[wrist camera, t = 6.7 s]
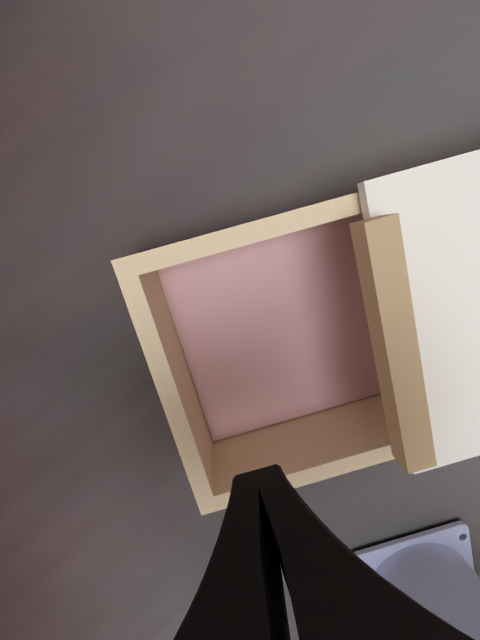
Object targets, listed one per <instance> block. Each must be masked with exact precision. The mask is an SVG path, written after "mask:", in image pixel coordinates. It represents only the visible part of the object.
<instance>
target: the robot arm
mask: <svg viewBox="0 0 480 640" xmlns="http://www.w3.org/2000/svg"><path fill="white" fill-rule="evenodd" d="M280 565H281V566H280ZM281 568H282V571H283V575H284V578H285V581H286V584H287V587H288V590H289V594H290V597H291V601H292V606H293V611H294V616H295V620H296V625H297V630H298V635H299V640H480V578H479V577H478V575H477V574H476V573H475V572H474V564H473V557H472V549H471V542H470V534H469V528H468V526H467V525H466V524H465V523H464V522H463V521H456V522H452V523H449V524H446V525H442V526H439V527H436V528H432V529H429V530H425V531H422V532H419V533H415V534H412V535H409V536H405V537H402V538H399V539H395V540H392V541H388V542H385V543H382V544H378V545H375V546H372V547H368V548H365V549H362V550H358V551H355V552H352V551H351V550H350V549H349V548H348V547H347V546H346V545H345V544H344V543H343V542H342V541H341V540H340V539H338V538H337V537H336V536H335V535H334V534H333V533H332V532H331V531H330V529H329V528H328V527H327V526H326V525H325V524H324V523H323V522H322V521H321V520H320V519H319V518H318V517H317V516H316V515H315V513H314V512H313V511H312V510H311V509H310V508H309V506H308V505H307V504H306V503H305V502H304V501H303V499H302V498H301V497H300V496H299V494H298V493H297V492H296V490H295V489H294V488H293V486H292V485H291V483H290V482H289V480H288V479H287V477H286V476H285V474H284V472H283V470H282V468H281V466H279V465H277V464H274V465H271V466H267V467H263V468H260V469H256V470H253V471H249V472H245V473H242V474H238V475H235V477H234V478H233V480H232V487H231V492H230V497H229V501H228V505H227V509H226V513H225V516H224V520H223V523H222V526H221V530H220V533H219V536H218V539H217V542H216V545H215V548H214V550H213V553H212V556H211V559H210V561H209V564H208V567H207V569H206V572H205V574H204V577H203V579H202V581H201V584H200V586H199V588H198V591H197V593H196V595H195V597H194V599H193V602H192V604H191V606H190V608H189V610H188V612H187V614H186V616H185V618H184V620H183V622H182V624H181V626H180V628H179V630H178V632H177V634H176V635H175V637H174V639H173V640H290V633H289V625H288V618H287V610H286V603H285V595H284V588H283V581H282V573H281Z"/></svg>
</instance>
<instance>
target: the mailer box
mask: <svg viewBox="0 0 480 640" xmlns="http://www.w3.org/2000/svg"><path fill="white" fill-rule="evenodd" d="M361 220H364V219H363V214H362V208H361V202H360V197H359V192H357V193H353V194H349V195H346V196H342V197H338V198H335V199H331V200H328V201H324V202H320V203H317V204H313V205H310V206H306V207H302V208H299V209H295V210H292V211H288V212H284V213H281V214H277V215H274V216H270V217H266V218H263V219H259V220H256V221H252V222H248V223H245V224H241V225H238V226H234V227H230V228H227V229H223V230H220V231H216V232H212V233H209V234H205V235H202V236H198V237H194V238H191V239H187V240H184V241H180V242H176V243H173V244H169V245H166V246H162V247H158V248H155V249H151V250H148V251H144V252H140V253H137V254H133V255H130V256H126V257H122V258H119V259H115V260H112V261H111V263H112V265H113V268H114V271H115V274H116V277H117V279H118V282H119V285H120V288H121V291H122V294H123V296H124V299H125V302H126V305H127V308H128V310H129V313H130V316H131V319H132V322H133V325H134V327H135V330H136V333H137V336H138V339H139V341H140V344H141V347H142V350H143V353H144V355H145V358H146V361H147V364H148V367H149V370H150V372H151V375H152V378H153V381H154V384H155V386H156V389H157V392H158V395H159V398H160V400H161V403H162V406H163V409H164V412H165V415H166V417H167V420H168V423H169V426H170V429H171V431H172V434H173V437H174V440H175V443H176V445H177V448H178V451H179V454H180V457H181V460H182V462H183V465H184V468H185V471H186V474H187V476H188V479H189V482H190V485H191V488H192V490H193V493H194V496H195V499H196V502H197V505H198V507H199V510H200V513H201V516H202V515H205V514H209V513H212V512H216V511H219V510H222V509H226V508H227V505H228V501H229V497H230V492H231V487H232V480H233V478H234V477H235V475H238V474H242V473H245V472H249V471H253V470H256V469H260V468H263V467H267V466H271V465H274V464H277V465H279V466H281V468H282V470H283V472H284V474H285V476H286V477H287V479H288V480H289V482H290V483H291V485H292V486H293V488H298V487H301V486H304V485H308V484H311V483H315V482H318V481H321V480H325V479H328V478H332V477H335V476H338V475H342V474H345V473H349V472H352V471H356V470H359V469H362V468H366V467H369V466H373V465H376V464H379V463H383V462H386V461H390V460H393V459H395V458H394V456H393V455H392V451H391V445H390V440H389V435H388V429H387V424H386V419H385V413H384V408H383V402H382V397H381V392H380V386H379V381H378V376H377V370H376V365H375V359H374V354H373V349H372V343H371V338H370V333H369V327H368V322H367V316H366V311H365V306H364V300H363V295H362V290H361V284H360V279H359V274H358V268H357V263H356V257H355V252H354V247H353V241H352V236H351V231H350V225H349V224H350V223H354V222H357V221H361Z"/></svg>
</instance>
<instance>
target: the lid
mask: <svg viewBox="0 0 480 640" xmlns="http://www.w3.org/2000/svg"><path fill="white" fill-rule="evenodd" d="M357 185H358V191H359V197H360V202H361V208H362V214H363V219H364V220H361V221H357V222H354V223H350V224H349V225H350V231H351V236H352V241H353V247H354V252H355V257H356V263H357V268H358V274H359V279H360V284H361V290H362V295H363V300H364V306H365V311H366V316H367V322H368V327H369V333H370V338H371V343H372V349H373V354H374V359H375V365H376V370H377V376H378V381H379V386H380V392H381V397H382V402H383V408H384V413H385V419H386V424H387V429H388V435H389V440H390V445H391V451H392V455H393V456H394V458H395V459H396V460H397V461H398V462H399V464H400V465H401V466H402V467H403V468H404V470H405V471H406V472H407V473H408V474H410V473H413V474H418V473H421V472H425V471H428V470H431V469H435V468H438V467H442V466H445V465H448V464H452V463H455V462H459V461H462V460H465V459H469V458H472V457H476V456H479V455H480V149H479V150H475V151H472V152H468V153H465V154H461V155H457V156H454V157H450V158H447V159H443V160H439V161H436V162H432V163H429V164H425V165H421V166H418V167H414V168H410V169H407V170H403V171H400V172H396V173H392V174H389V175H385V176H382V177H378V178H374V179H371V180H367V181H364V182H361V183H358V184H357Z"/></svg>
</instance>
